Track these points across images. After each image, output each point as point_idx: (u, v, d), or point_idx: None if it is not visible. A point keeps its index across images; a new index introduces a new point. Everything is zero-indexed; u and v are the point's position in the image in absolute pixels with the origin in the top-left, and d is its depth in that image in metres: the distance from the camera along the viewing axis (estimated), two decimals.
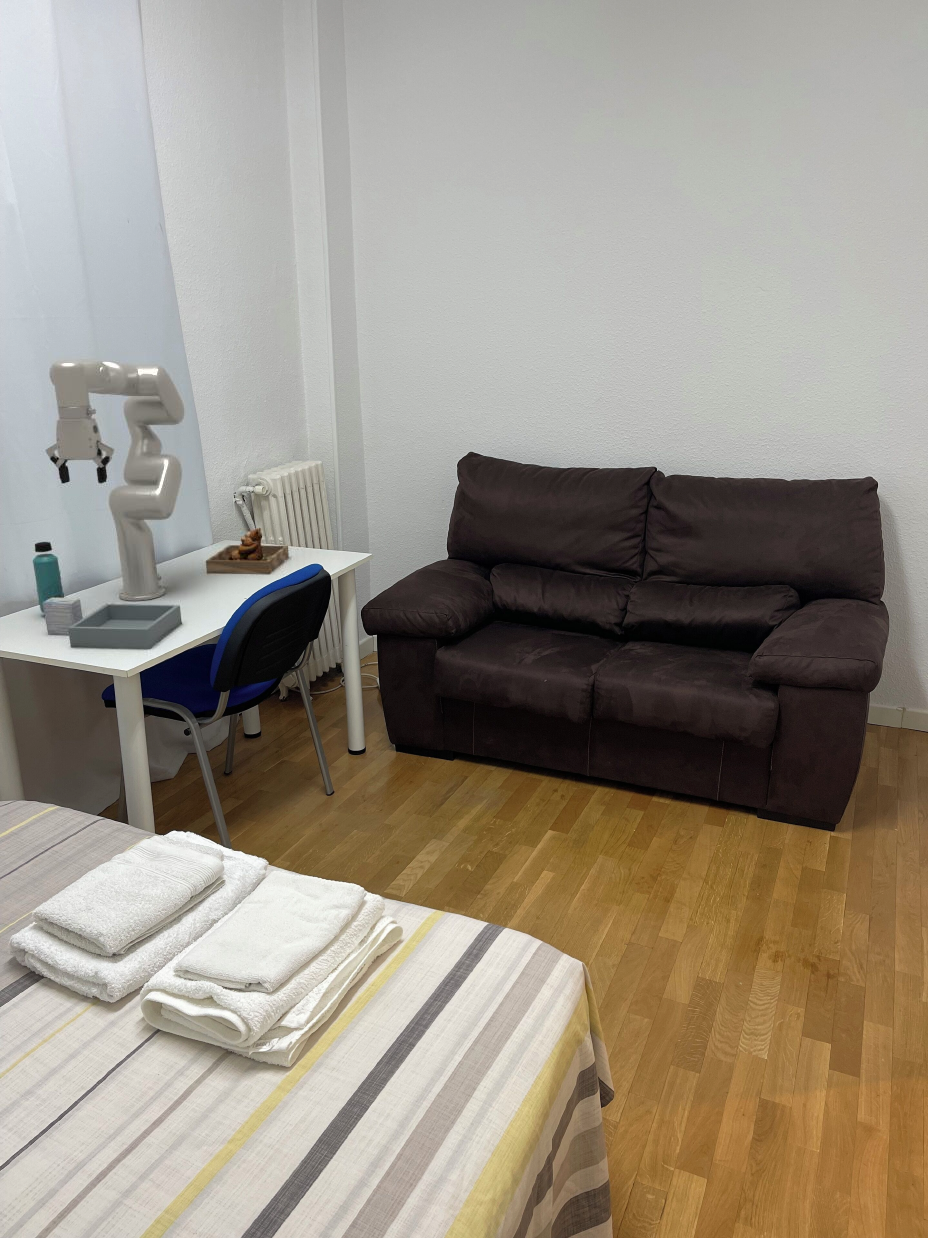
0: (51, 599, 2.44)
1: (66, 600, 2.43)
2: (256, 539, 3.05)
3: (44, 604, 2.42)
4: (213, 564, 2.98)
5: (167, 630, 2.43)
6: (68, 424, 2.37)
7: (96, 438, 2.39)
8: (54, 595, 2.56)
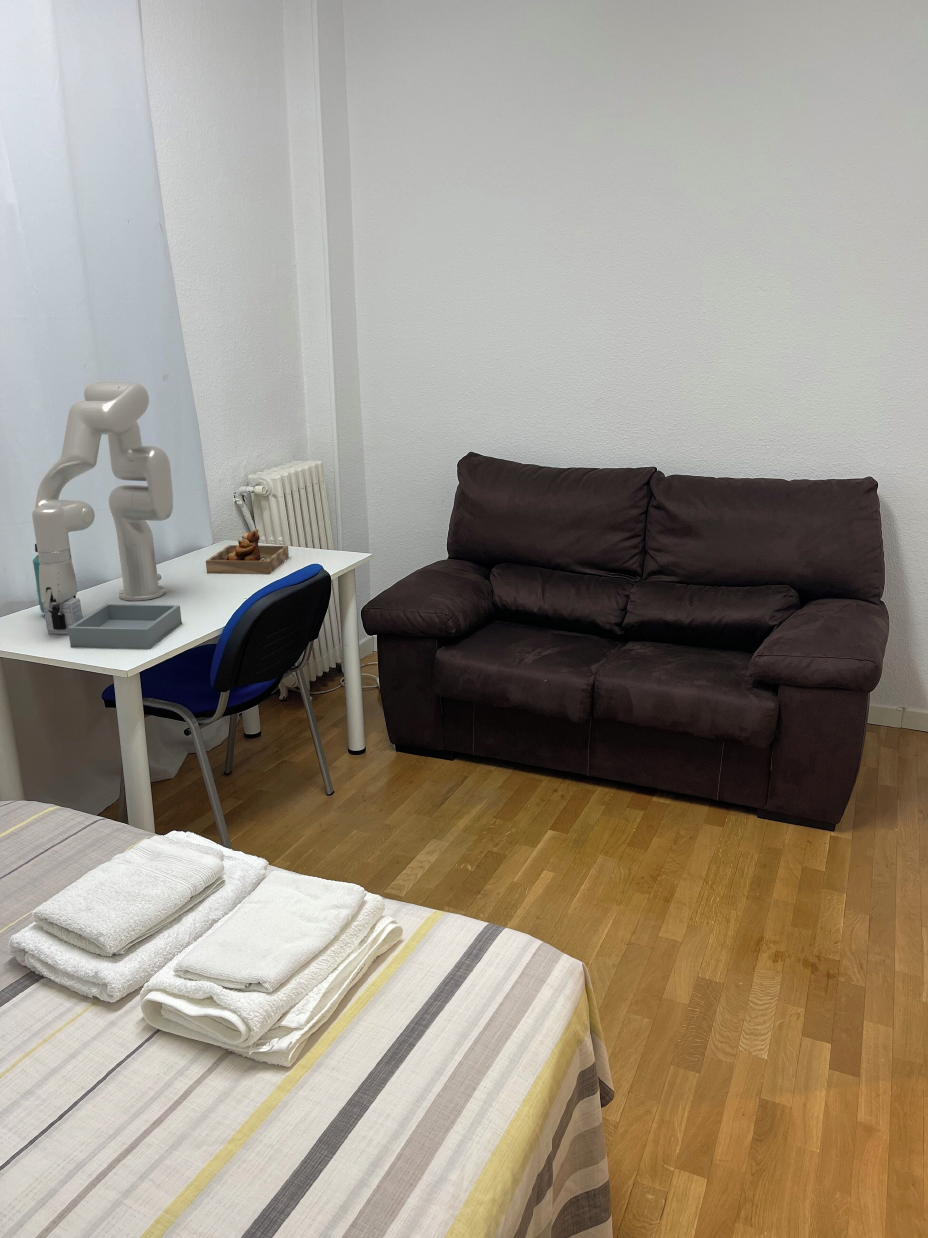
0: None
1: (66, 600, 2.43)
2: (253, 540, 3.03)
3: None
4: (213, 564, 2.98)
5: (167, 630, 2.43)
6: (64, 566, 2.39)
7: None
8: None
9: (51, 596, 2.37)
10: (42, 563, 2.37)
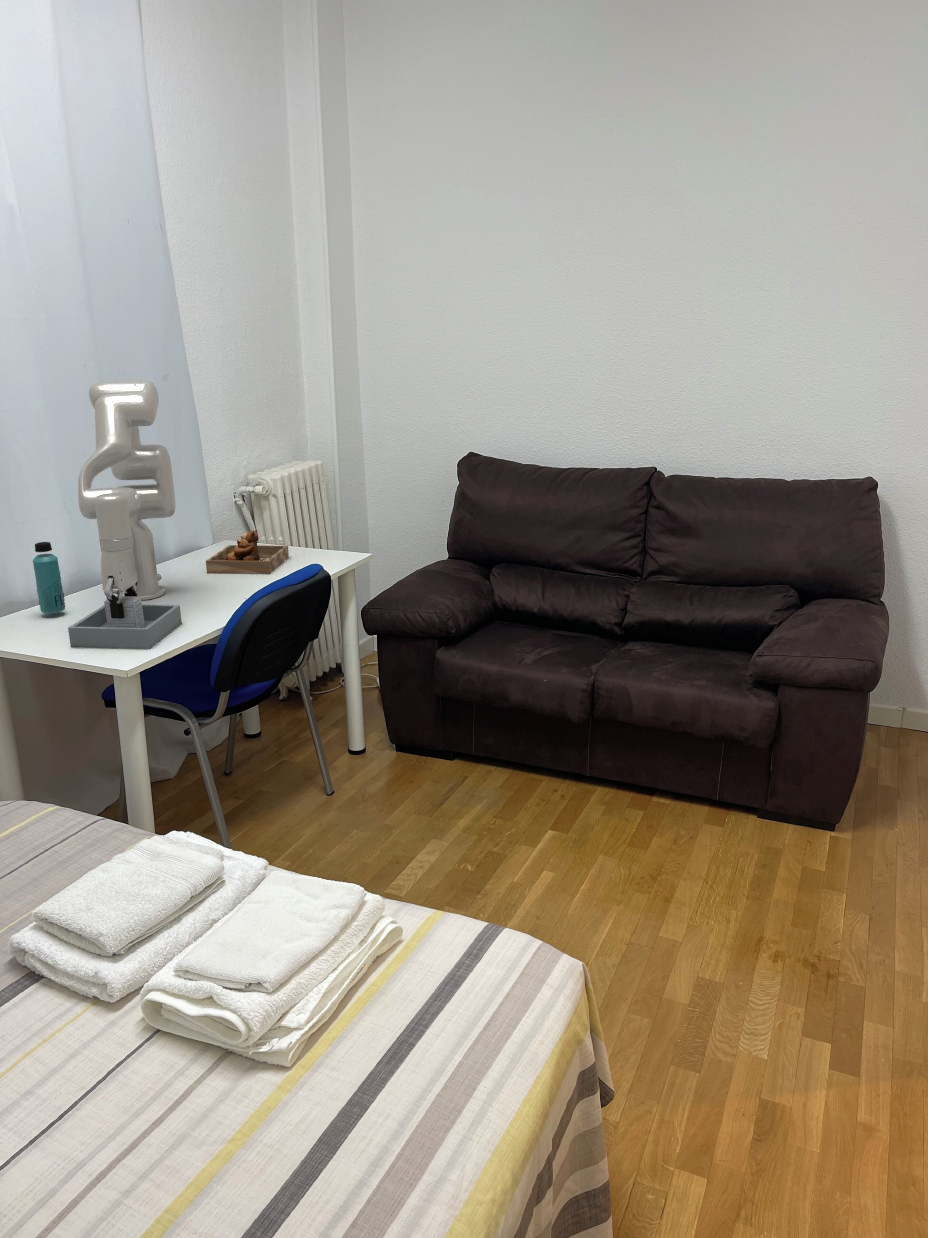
0: None
1: (127, 598, 2.40)
2: (252, 540, 3.03)
3: (105, 603, 2.38)
4: (213, 564, 2.98)
5: (167, 630, 2.43)
6: (126, 555, 2.36)
7: None
8: (54, 595, 2.56)
9: (112, 583, 2.33)
10: (104, 551, 2.33)
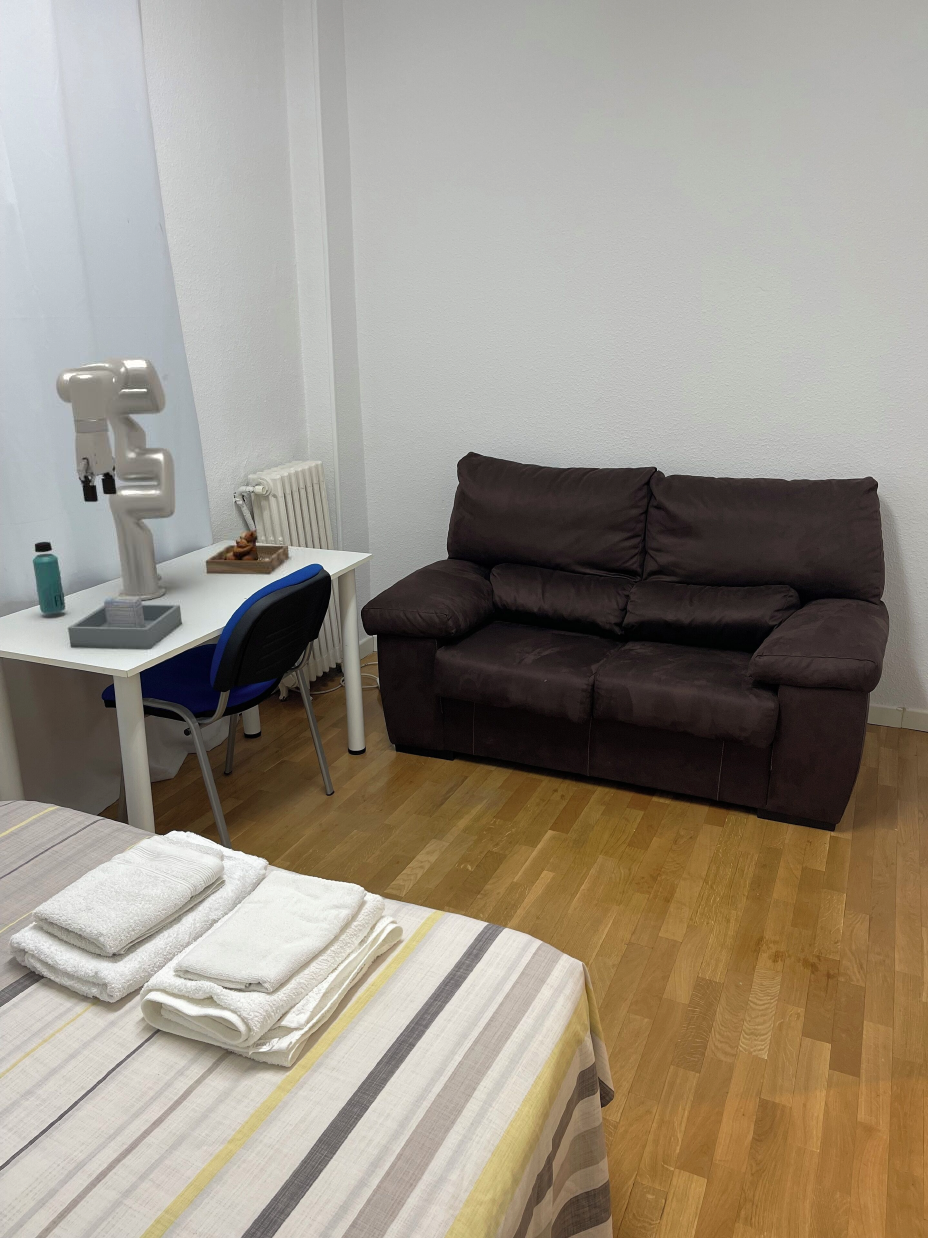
0: (112, 598, 2.40)
1: (127, 598, 2.40)
2: (251, 540, 3.03)
3: (105, 603, 2.38)
4: (213, 564, 2.98)
5: (167, 630, 2.43)
6: (101, 437, 2.30)
7: None
8: (54, 595, 2.56)
9: (86, 463, 2.27)
10: (79, 432, 2.28)
